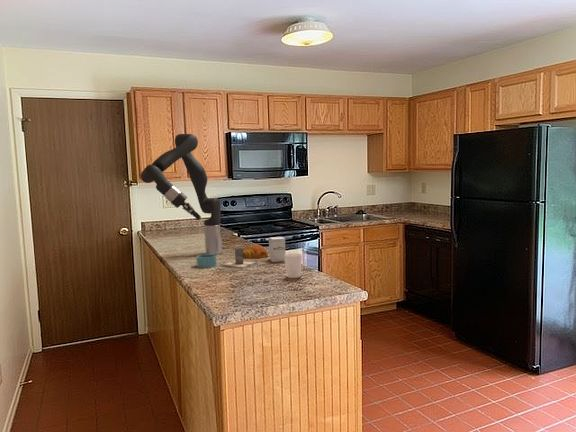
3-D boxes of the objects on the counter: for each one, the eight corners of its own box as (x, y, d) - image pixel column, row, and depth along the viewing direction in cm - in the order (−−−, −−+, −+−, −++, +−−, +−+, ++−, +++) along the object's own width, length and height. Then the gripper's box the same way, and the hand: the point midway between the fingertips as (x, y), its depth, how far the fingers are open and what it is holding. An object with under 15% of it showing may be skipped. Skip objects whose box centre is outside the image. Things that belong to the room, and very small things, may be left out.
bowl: (205, 263, 238) (205, 253, 237) (220, 265, 233) (220, 254, 232) (192, 267, 229) (192, 257, 229) (208, 269, 224) (207, 258, 224)
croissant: (237, 261, 254) (235, 247, 253) (259, 253, 264) (257, 240, 263) (252, 264, 243) (249, 250, 242) (274, 256, 253) (272, 242, 251)
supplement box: (272, 262, 235) (271, 239, 234) (269, 260, 243) (268, 237, 241) (285, 261, 237) (285, 238, 236) (282, 259, 244) (281, 236, 243)
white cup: (292, 273, 210) (291, 252, 209) (305, 275, 205) (305, 254, 204) (281, 276, 204) (280, 255, 203) (295, 279, 199) (294, 257, 198)
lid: (236, 261, 239) (236, 245, 238) (257, 263, 233) (256, 246, 232) (221, 266, 228) (220, 249, 227) (242, 268, 222) (241, 250, 221)
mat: (236, 261, 241) (236, 260, 241) (261, 264, 233) (261, 263, 233) (217, 267, 228) (217, 266, 227) (243, 270, 220) (243, 269, 219)
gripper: (180, 191, 219) (205, 213, 222) (180, 190, 232) (203, 211, 236) (170, 202, 218) (195, 224, 222) (170, 201, 231) (193, 222, 235)
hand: (199, 218), depth 229 cm, fingers open, 8 cm apart
